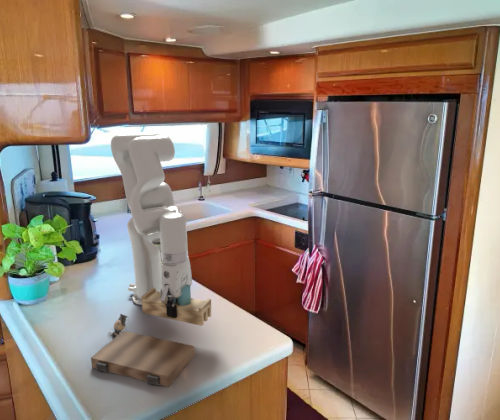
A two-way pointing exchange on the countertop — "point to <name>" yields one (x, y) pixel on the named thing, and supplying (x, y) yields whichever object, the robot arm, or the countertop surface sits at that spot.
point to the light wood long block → (188, 313)
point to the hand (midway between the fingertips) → (178, 310)
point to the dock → (144, 358)
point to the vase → (119, 325)
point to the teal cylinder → (185, 297)
